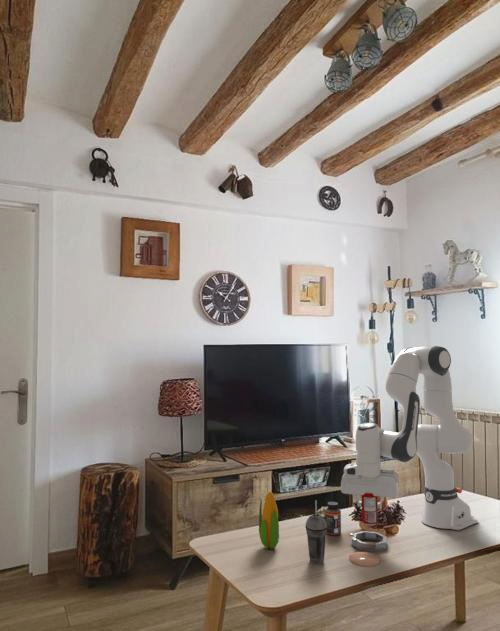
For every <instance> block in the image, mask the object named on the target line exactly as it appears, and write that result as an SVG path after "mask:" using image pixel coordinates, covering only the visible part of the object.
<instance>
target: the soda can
mask: <svg viewBox="0 0 500 631" xmlns="http://www.w3.org/2000/svg"><path fill="white" fill-rule="evenodd" d="M361 501H362V507H361V522H362V523H363V524H364V525H366V526H376V525H377V524H378V522H379V520H378V518H379V513H378V511H379V510H378V508H377V502H378V496H374V495H373V492H365V494H364V495H361Z"/></svg>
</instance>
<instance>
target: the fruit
mask: <svg viewBox="0 0 500 631" xmlns="http://www.w3.org/2000/svg"><path fill="white" fill-rule="evenodd" d="M326 508H328V505H326V506H321V508H319V509H317V514H319V515H321V516H322V517H323V518H324V519H325V510H326Z"/></svg>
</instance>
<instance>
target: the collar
mask: <svg viewBox="0 0 500 631" xmlns="http://www.w3.org/2000/svg"><path fill="white" fill-rule="evenodd" d="M349 536H350V537H351V546H352V547H354V548H356V549H358V550H360V551H361V552H369V553H371V552H372V553H377V552H381V551H385V550H387V547H388V545H387V544H388V537H387V536H386V535H383V534H382V533H380V532H377V531H367V530H362V531H358V532H353V533H349ZM363 540H370V541H377V542H366V541H363Z"/></svg>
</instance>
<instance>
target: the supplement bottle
mask: <svg viewBox="0 0 500 631" xmlns="http://www.w3.org/2000/svg"><path fill="white" fill-rule="evenodd" d="M327 506H328V508H326V510H325V521H326V524H327V532H326V535H329V536H339V535H340V534H342V514H341V513H342V511H341V509H340V508H339V503H338V502H336V501H328V502H327Z"/></svg>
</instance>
